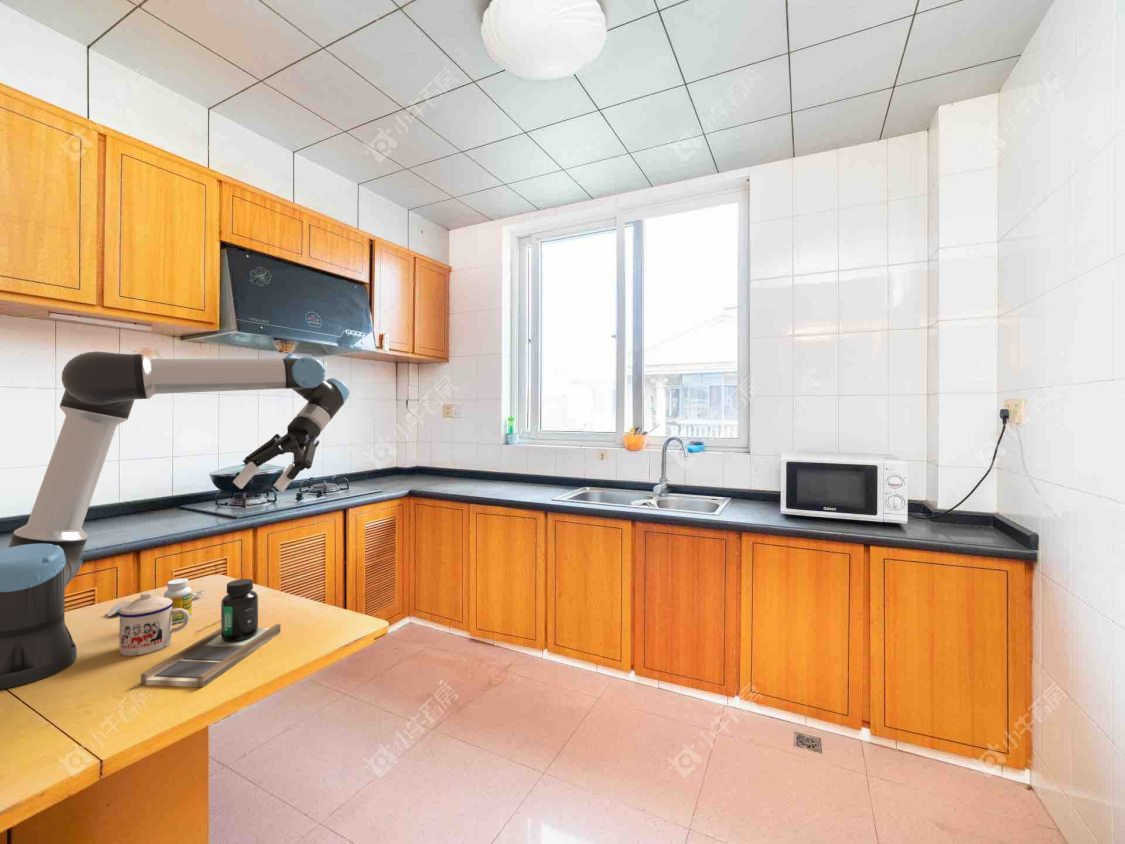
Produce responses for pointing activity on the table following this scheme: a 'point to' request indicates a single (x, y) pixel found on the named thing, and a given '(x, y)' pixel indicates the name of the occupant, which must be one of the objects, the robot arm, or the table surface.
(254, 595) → the supplement bottle
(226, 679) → the table surface
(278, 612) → the table surface
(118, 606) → the stirrer
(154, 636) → the teacup with lid
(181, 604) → the supplement bottle
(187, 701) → the table surface
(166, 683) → the window panel
